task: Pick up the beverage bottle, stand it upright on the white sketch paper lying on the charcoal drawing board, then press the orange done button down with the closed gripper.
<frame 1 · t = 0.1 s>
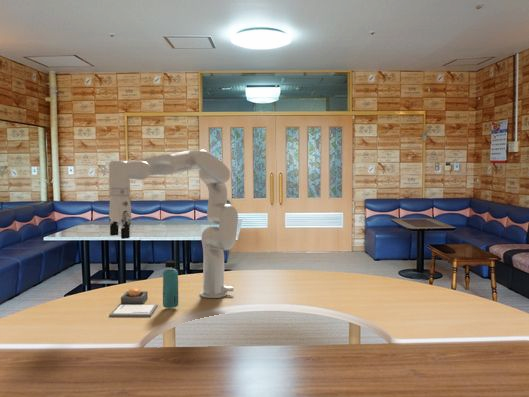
hand: (119, 236, 168), 31 cm above the table, tool pointing down, fingers open, 9 cm apart
button housing: (134, 302, 187), on the table
beverage bottle: (170, 309, 179), on the table
drawing board: (134, 311, 175), on the table
done button: (134, 292, 187), point 4 cm above the table, slide at 0.0 cm
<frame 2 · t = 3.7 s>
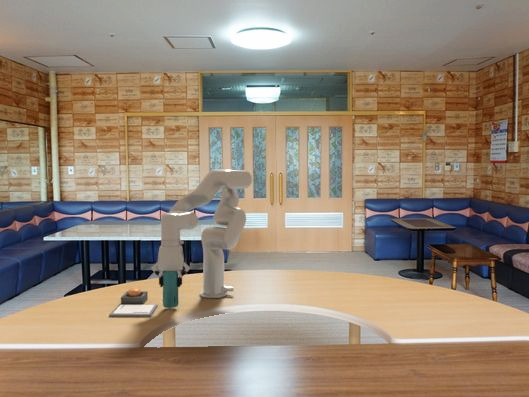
hand: (170, 286, 178), 10 cm above the table, tool pointing down, fingers closed on beverage bottle, 6 cm apart
beverage bottle: (170, 309, 179), on the table, touching gripper
everything else where it was.
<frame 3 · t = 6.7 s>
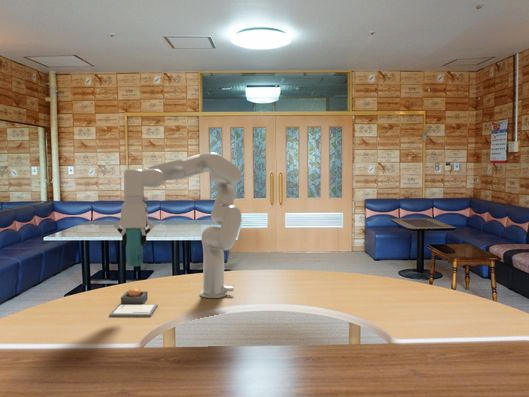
hand: (134, 244, 173), 27 cm above the table, tool pointing down, fingers closed on beverage bottle, 6 cm apart
beverage bottle: (134, 268, 174), point 17 cm above the table, touching gripper
everything else where it was.
when the fingers open (12 cm above the table, at t = 10.0 s): beverage bottle drops 1 cm, resting on drawing board.
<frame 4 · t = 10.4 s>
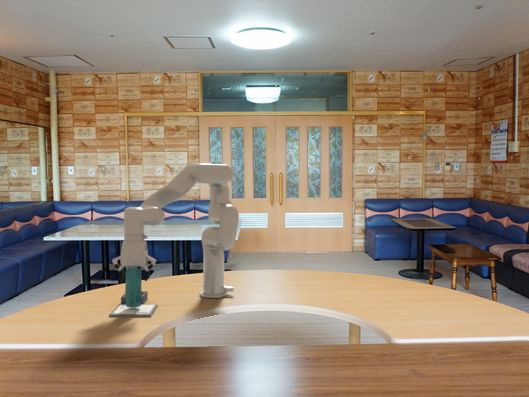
hand: (134, 280, 174), 13 cm above the table, tool pointing down, fingers open, 9 cm apart
beverage bottle: (133, 309, 175), point 1 cm above the table, touching drawing board
everything else where it was.
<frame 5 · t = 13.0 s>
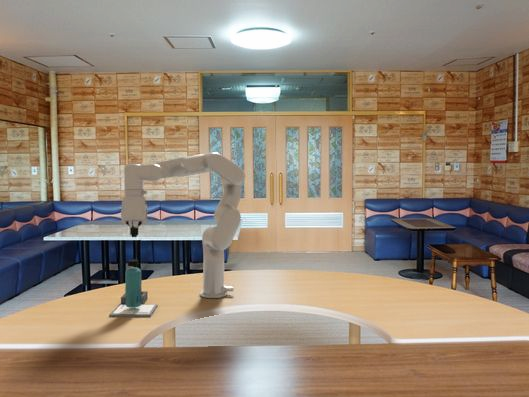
hand: (134, 236, 183), 29 cm above the table, tool pointing down, fingers closed
nothing on the table moved.
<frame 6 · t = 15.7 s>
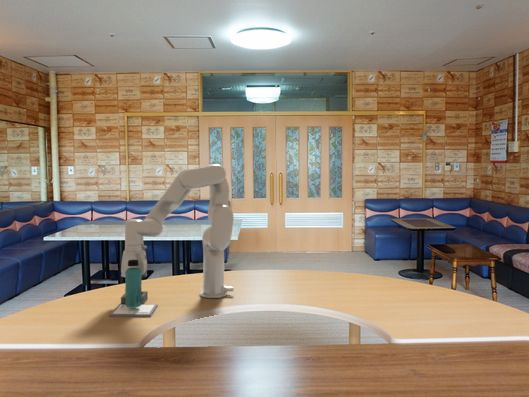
hand: (133, 290, 186), 5 cm above the table, tool pointing down, fingers closed
done button: (134, 293, 187), point 4 cm above the table, slide at 0.2 cm, touching gripper
everything else where it was.
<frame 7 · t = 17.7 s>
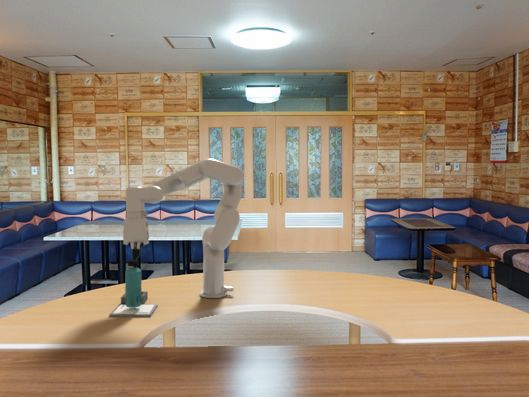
hand: (136, 257, 186), 19 cm above the table, tool pointing down, fingers closed
done button: (134, 294, 187), point 3 cm above the table, slide at 0.9 cm
everything else where it was.
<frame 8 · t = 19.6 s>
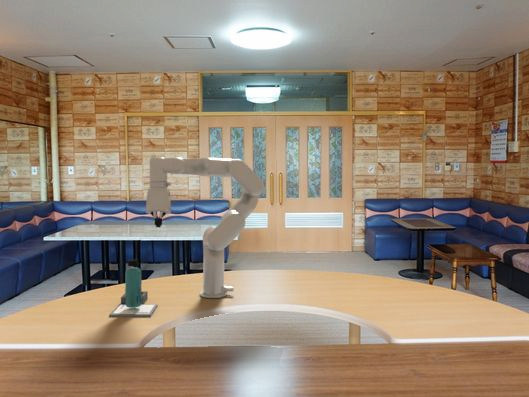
hand: (158, 226, 191), 32 cm above the table, tool pointing down, fingers closed
nothing on the table moved.
at the end: beverage bottle inside the target area on the drawing board (0.4 cm from its centre), point 0.8 cm above the drawing board's base; beverage bottle tilted 0°; done button slide at 0.9 cm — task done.
